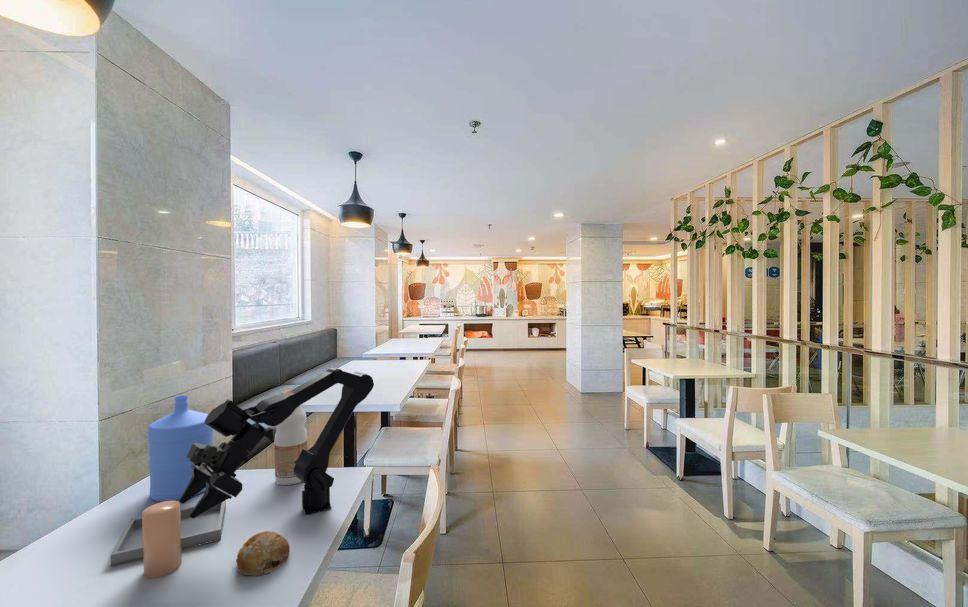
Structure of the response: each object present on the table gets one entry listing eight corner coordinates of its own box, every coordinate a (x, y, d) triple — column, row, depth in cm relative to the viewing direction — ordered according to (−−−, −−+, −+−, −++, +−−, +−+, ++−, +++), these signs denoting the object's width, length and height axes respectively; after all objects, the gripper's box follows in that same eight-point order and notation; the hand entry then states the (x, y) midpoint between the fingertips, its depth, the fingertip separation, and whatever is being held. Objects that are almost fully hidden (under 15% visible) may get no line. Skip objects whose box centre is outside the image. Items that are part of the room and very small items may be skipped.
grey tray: (225, 508, 112) (225, 499, 112) (220, 539, 98) (220, 529, 98) (131, 529, 103) (131, 519, 103) (111, 566, 89) (110, 555, 89)
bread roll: (247, 598, 84) (256, 569, 82) (224, 561, 89) (231, 533, 87) (292, 570, 93) (301, 543, 91) (268, 538, 98) (276, 512, 96)
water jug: (202, 499, 118) (199, 401, 117) (137, 506, 114) (134, 405, 113) (222, 475, 133) (220, 389, 132) (166, 481, 129) (164, 392, 128)
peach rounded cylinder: (183, 555, 93) (182, 497, 92) (178, 571, 87) (177, 511, 87) (147, 564, 90) (146, 505, 89) (140, 582, 84) (138, 519, 84)
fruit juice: (282, 489, 124) (280, 396, 123) (270, 479, 130) (268, 391, 129) (313, 478, 130) (311, 390, 130) (300, 470, 137) (299, 386, 136)
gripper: (201, 420, 101) (144, 479, 93) (225, 438, 88) (161, 509, 80) (237, 443, 107) (187, 501, 99) (264, 463, 94) (209, 531, 86)
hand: (185, 509), depth 91 cm, fingers open, 9 cm apart
